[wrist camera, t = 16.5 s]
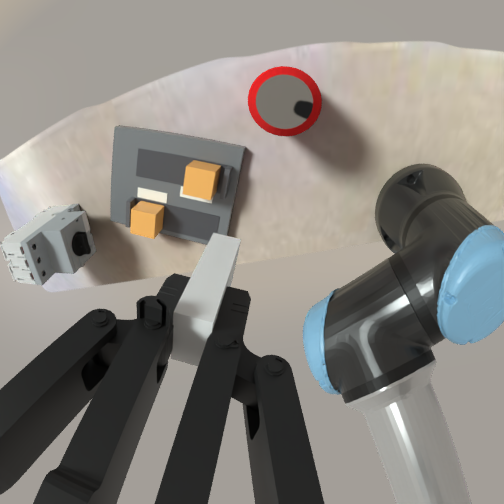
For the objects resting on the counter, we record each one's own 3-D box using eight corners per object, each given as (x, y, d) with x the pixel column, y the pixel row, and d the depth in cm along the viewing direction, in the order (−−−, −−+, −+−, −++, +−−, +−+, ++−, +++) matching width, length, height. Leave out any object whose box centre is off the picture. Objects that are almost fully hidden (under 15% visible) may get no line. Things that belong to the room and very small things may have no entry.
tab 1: (164, 205, 47) (155, 214, 44) (162, 228, 49) (154, 238, 46) (141, 200, 47) (131, 209, 44) (139, 223, 49) (130, 233, 46)
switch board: (245, 146, 43) (241, 151, 40) (225, 244, 51) (221, 255, 48) (119, 125, 43) (108, 128, 40) (114, 217, 51) (104, 225, 48)
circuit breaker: (114, 240, 53) (69, 288, 40) (58, 240, 55) (13, 281, 42) (105, 201, 50) (53, 242, 37) (49, 206, 51) (-2, 242, 38)
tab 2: (221, 165, 43) (215, 172, 40) (216, 192, 45) (210, 200, 42) (193, 160, 43) (186, 166, 40) (189, 186, 45) (182, 194, 42)
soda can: (303, 133, 41) (308, 148, 30) (251, 115, 40) (236, 124, 30) (322, 83, 37) (333, 80, 27) (268, 65, 37) (259, 55, 26)
